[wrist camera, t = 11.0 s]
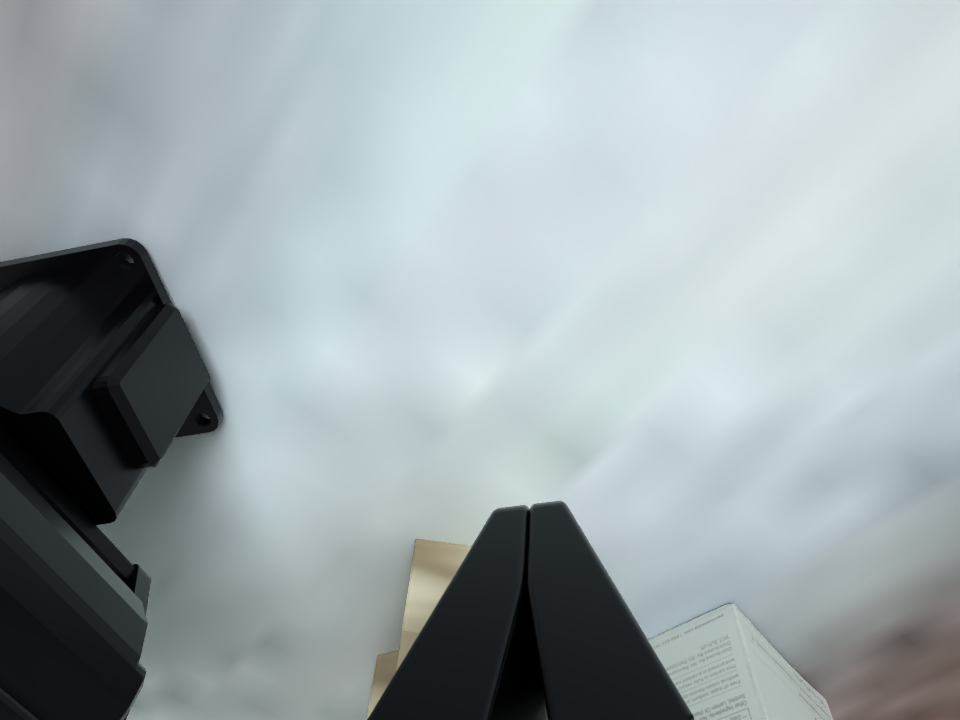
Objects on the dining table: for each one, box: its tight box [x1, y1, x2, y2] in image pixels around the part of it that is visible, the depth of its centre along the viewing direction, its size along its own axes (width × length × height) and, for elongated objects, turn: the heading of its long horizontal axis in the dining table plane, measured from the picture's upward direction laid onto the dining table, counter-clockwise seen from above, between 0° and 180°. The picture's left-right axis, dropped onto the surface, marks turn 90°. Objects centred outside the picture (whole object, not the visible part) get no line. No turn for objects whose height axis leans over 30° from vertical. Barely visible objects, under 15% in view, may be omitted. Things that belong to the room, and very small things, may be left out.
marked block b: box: [397, 539, 472, 669], centre depth 27 cm, size 4×4×4 cm
